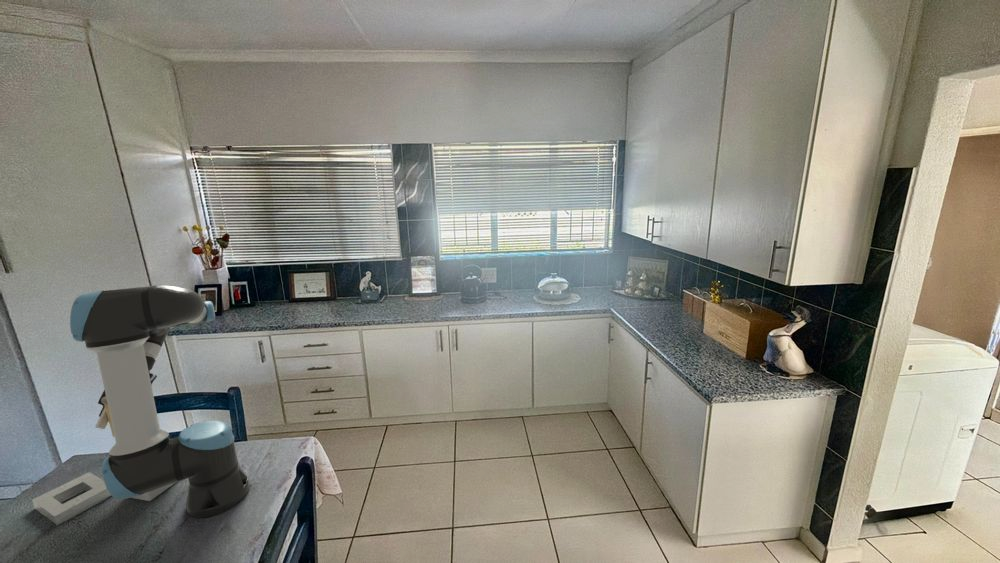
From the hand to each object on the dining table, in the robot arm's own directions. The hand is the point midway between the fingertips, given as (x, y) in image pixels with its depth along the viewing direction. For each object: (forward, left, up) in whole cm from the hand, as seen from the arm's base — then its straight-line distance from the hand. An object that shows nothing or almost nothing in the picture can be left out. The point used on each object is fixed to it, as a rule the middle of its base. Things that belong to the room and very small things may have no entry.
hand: (109, 427), depth 120 cm
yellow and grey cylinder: (+2, -3, -4) cm, 6 cm away
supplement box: (-19, 0, -16) cm, 25 cm away
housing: (-4, +12, -16) cm, 20 cm away
